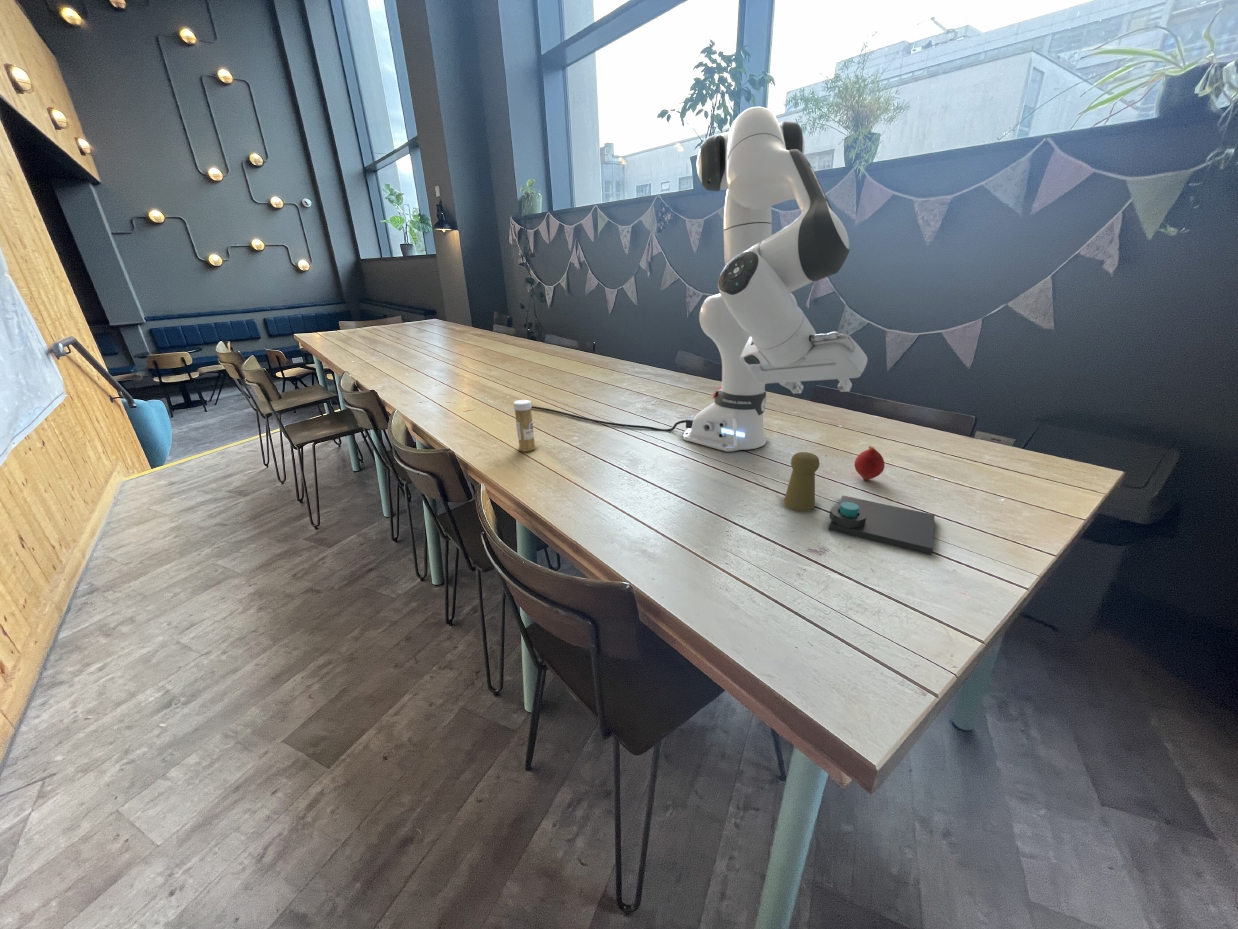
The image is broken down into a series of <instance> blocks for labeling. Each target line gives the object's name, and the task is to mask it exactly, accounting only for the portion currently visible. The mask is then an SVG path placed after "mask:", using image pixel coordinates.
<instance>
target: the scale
mask: <svg viewBox="0 0 1238 929" xmlns="http://www.w3.org/2000/svg"><path fill="white" fill-rule="evenodd" d="M843 502H851V503H855V504H857V505H858V506H859V510H858V515H857V517H846V516H843V515H841V514H840V513H839V512H840V506H841V503H843ZM935 516H936V514H933V513H927V512H924V511H918V510H915V509H914V510H913V509H909V508H904V507H901V506H900V507H899V506H895V505H889V504H886V503H881V502H875V501H871V500H866V499H861V498H857V497H853V496H847V495H841V497H840V499H839V501H838V503H837V504H836V505H834V506H831V508H830V512H829V519H830V522H829V524H828V525H829V526H828V531H831V532H834V533H838V534H843V535H846V536H851V537H855V538H860V539H864V540H867V541H872V542H876V543H880V544H882V545H883V544H884V545H887V546H891V547H896V548H900V549H904V550H908V551H912V552H915V553H920V554H925V555H928V556H931V555H932V552H933V548H934V534H935V533H934V530H935Z"/></svg>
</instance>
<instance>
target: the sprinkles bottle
mask: <svg viewBox="0 0 1238 929" xmlns="http://www.w3.org/2000/svg"><path fill="white" fill-rule="evenodd" d="M531 401H532V400H529V399H519V400H515V401H514V402H513V410H514V413H515V424H516V432H517V439H518V446H519V447H518V449H519V451H521V452H526V453H527V452H531V451H534V450H535V449H536V441H535V429H534V421H533V414H532V408H531V406H532V402H531Z"/></svg>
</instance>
